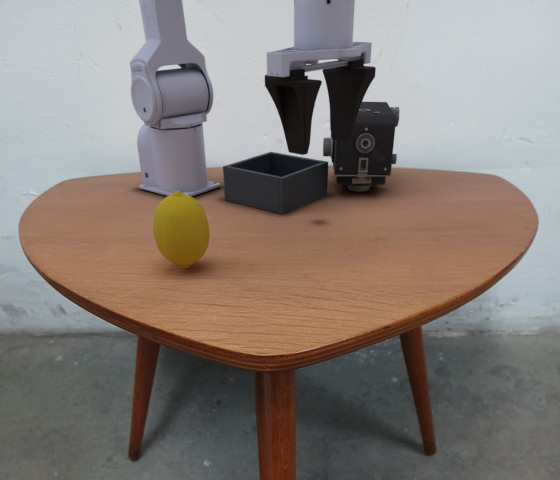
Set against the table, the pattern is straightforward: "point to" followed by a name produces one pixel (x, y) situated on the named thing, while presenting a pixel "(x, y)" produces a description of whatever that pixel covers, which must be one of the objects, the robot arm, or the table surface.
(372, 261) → the table surface
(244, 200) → the bin
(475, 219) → the table surface
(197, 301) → the table surface
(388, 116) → the camera
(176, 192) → the lemon
